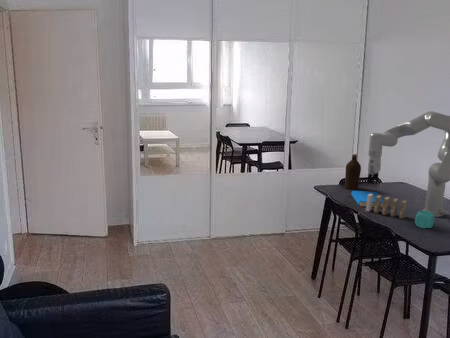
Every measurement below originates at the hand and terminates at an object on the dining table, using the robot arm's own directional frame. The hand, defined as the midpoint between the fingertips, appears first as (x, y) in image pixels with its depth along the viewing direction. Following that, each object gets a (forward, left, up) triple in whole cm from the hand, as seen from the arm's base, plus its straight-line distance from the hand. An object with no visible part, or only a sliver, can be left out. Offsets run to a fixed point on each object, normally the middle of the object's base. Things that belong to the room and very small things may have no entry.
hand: (372, 181), depth 283 cm
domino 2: (-10, 0, -19) cm, 21 cm away
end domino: (0, 0, -19) cm, 18 cm away
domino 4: (-20, 0, -19) cm, 27 cm away
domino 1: (-5, 0, -18) cm, 19 cm away
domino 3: (-15, 0, -18) cm, 23 cm away
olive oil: (+27, -44, -19) cm, 55 cm away
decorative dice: (-34, +8, -19) cm, 39 cm away
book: (+7, -19, -19) cm, 28 cm away
